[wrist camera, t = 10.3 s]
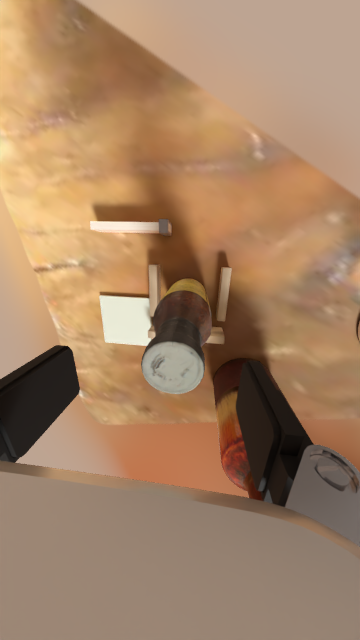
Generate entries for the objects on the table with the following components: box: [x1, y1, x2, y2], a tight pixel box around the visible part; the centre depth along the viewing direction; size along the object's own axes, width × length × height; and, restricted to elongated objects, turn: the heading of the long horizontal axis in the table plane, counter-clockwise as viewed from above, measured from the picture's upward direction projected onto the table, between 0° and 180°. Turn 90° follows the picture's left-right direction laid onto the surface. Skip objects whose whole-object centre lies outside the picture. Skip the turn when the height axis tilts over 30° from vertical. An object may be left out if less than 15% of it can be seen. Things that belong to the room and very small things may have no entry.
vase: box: [214, 358, 295, 501], centre depth 24 cm, size 11×11×20 cm
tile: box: [99, 295, 152, 346], centre depth 32 cm, size 9×9×1 cm
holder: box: [148, 264, 232, 344], centre depth 28 cm, size 12×11×4 cm
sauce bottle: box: [141, 278, 212, 394], centre depth 20 cm, size 7×6×20 cm
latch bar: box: [90, 219, 172, 236], centre depth 25 cm, size 11×2×3 cm, turn 88°
